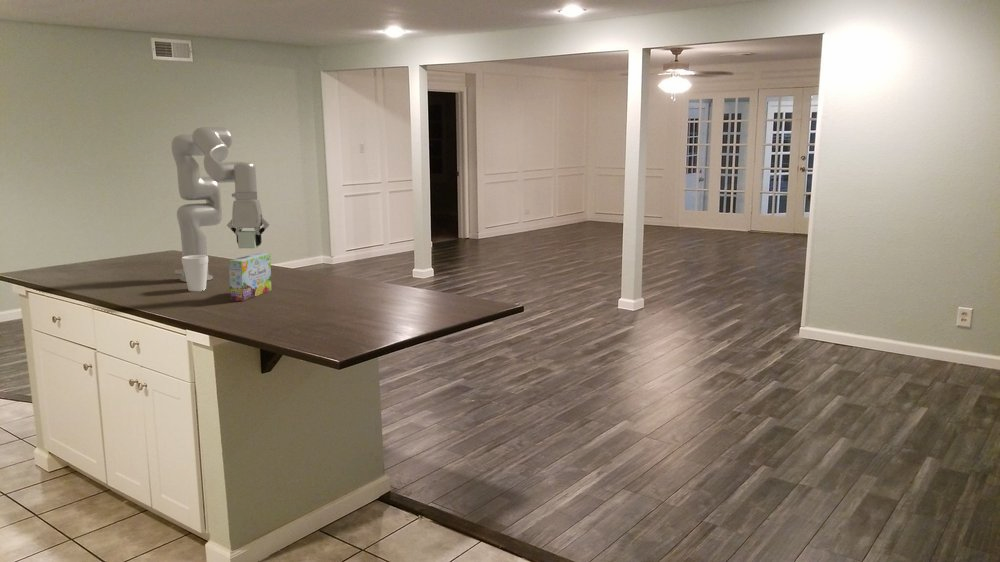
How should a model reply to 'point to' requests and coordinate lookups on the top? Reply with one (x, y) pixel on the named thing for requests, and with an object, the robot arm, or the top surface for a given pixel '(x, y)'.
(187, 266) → the foam cup
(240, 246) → the sage block
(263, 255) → the snack box
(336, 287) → the top surface
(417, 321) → the top surface
